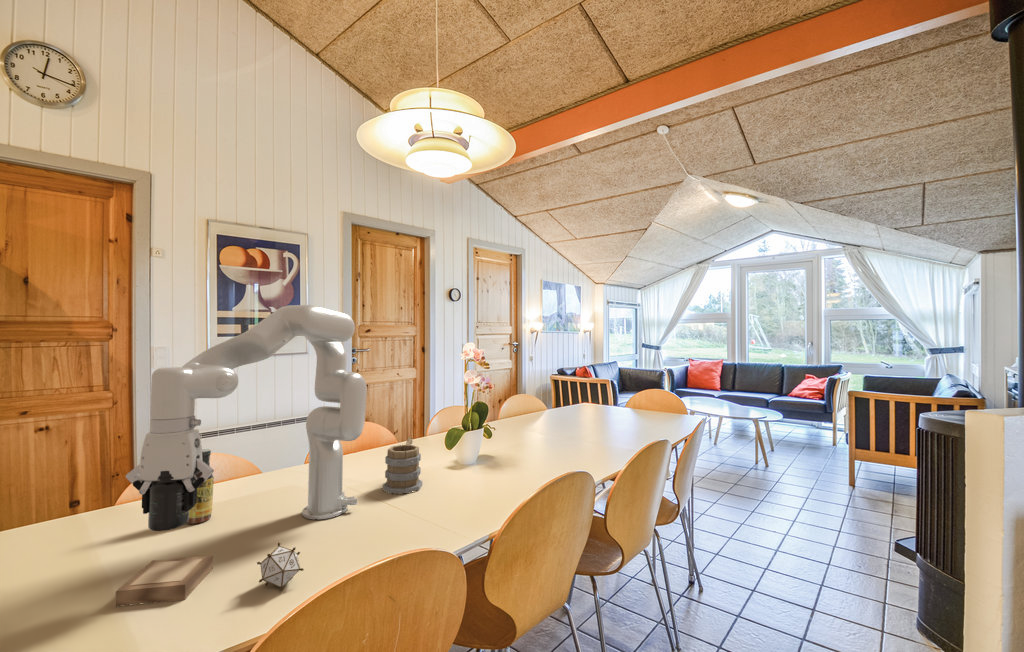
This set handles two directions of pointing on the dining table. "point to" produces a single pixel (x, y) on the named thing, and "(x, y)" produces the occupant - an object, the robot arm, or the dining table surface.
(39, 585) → the dining table surface
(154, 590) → the walnut base
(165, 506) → the supplement bottle
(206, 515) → the sauce bottle
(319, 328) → the robot arm
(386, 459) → the tankard
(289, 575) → the game die
